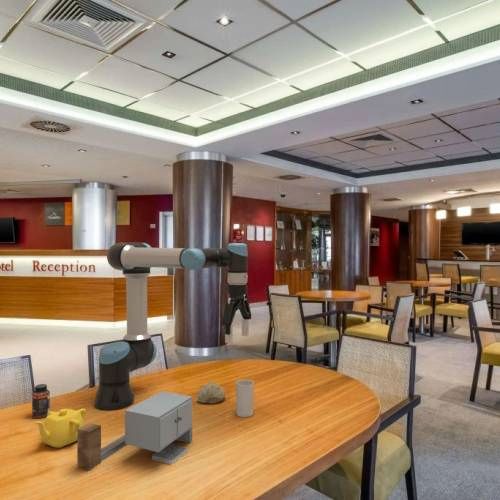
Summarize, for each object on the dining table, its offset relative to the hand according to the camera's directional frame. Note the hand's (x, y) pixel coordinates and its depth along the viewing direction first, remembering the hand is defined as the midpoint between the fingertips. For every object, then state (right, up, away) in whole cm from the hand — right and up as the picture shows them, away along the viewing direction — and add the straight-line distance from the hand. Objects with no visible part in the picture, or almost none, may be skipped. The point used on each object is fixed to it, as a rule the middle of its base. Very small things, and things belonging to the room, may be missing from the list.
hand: (237, 339), depth 159 cm
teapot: (-56, -28, -25) cm, 67 cm away
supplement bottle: (-73, -28, -4) cm, 78 cm away
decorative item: (-11, -28, +12) cm, 32 cm away
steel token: (-19, -29, -33) cm, 48 cm away
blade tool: (-38, -28, -31) cm, 56 cm away
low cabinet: (-23, -28, -29) cm, 47 cm away
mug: (+2, -28, 0) cm, 28 cm away
